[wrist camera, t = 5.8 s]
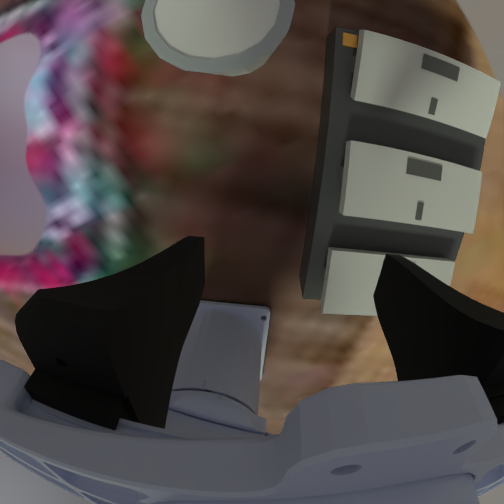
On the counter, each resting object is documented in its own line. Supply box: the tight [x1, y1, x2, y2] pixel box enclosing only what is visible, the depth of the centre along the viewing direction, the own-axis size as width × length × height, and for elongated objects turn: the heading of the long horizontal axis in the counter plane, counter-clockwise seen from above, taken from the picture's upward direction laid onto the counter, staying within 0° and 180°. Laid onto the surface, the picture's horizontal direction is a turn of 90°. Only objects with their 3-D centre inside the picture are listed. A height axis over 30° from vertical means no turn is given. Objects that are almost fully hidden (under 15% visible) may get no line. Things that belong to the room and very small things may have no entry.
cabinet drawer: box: [350, 30, 501, 138], centre depth 12 cm, size 4×9×1 cm, turn 87°
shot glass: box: [141, 0, 295, 77], centre depth 12 cm, size 7×7×7 cm
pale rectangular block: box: [320, 247, 455, 316], centre depth 18 cm, size 4×9×1 cm, turn 86°
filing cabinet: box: [299, 27, 485, 300], centre depth 17 cm, size 18×11×4 cm, turn 176°
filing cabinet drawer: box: [339, 140, 482, 234], centre depth 15 cm, size 4×9×1 cm, turn 86°
